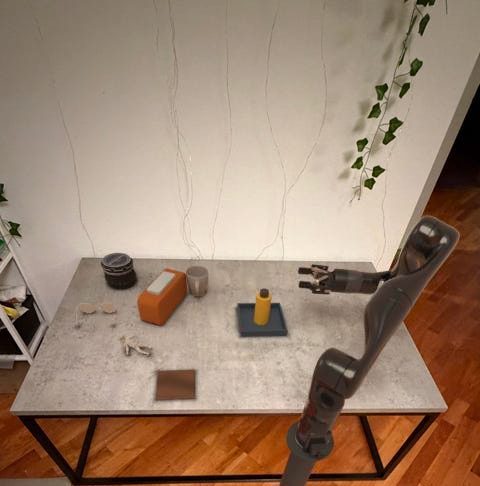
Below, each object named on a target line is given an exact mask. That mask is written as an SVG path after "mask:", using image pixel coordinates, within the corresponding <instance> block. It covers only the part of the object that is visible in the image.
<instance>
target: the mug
mask: <svg viewBox="0 0 480 486" xmlns="http://www.w3.org/2000/svg"><path fill="white" fill-rule="evenodd" d="M185 274H186V280H187V287H188V288H189V290H190V292H191V294H192V296H193V297H202V296H204V295H205V293H206V290H207V288H208V285H209V270H208V269H207V268H206V266H202V265H191V266H189V267H188V268H187V269H186V271H185Z"/></svg>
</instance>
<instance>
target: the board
mask: <svg viewBox="0 0 480 486" xmlns="http://www.w3.org/2000/svg"><path fill="white" fill-rule="evenodd" d="M195 388H196V387H195V369H175V370H173V369H172V370H157V377H156V388H155V389H156V390H155V401H168V400H169V401H171V400H173V401H174V400H176V401H177V400H195V399H196V397H195V395H196V394H195V390H196V389H195Z"/></svg>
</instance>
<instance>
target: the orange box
mask: <svg viewBox="0 0 480 486" xmlns="http://www.w3.org/2000/svg"><path fill="white" fill-rule="evenodd" d="M187 294H188V283H187V278H186V272H184V271H179V270H176V269H172V268H167V267H166V268H164V269H163V270H162V271H161V272H160V273H159V274H158V275H157V276H156V277H155V278H154V280H152V282H151V283H150V284H149V285H148V286H147V287H146V288H145V289H144V290H143V291H142V292H141V294H139V295H138V297H137V300H136V303H137V304H136V305H137V309H138V313H139V317H140V320H141V321H143V322H147V323H151V324H154V325H157V326H163V325H164V324H165V323H166V322H167V321H168V320H169V318H170V317H171V316H172V314H173V313H174V312H175V310H176V309H177V308H178V306H179V305H180V304H181V302H182V301H183V300H184V299H185V297H186V296H187Z"/></svg>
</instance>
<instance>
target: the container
mask: <svg viewBox="0 0 480 486" xmlns="http://www.w3.org/2000/svg"><path fill="white" fill-rule="evenodd" d="M100 266H101V268H102V271H103V273H104V280H105V282H106V283H107V284H108V285H109V287H110V288H112V289H115V290H125V289H129V288H131V287H133V286H134V285H135V284H136V281H137V280H136V277H137V273H136V271H135V269H134V267H135V266H134V259H133V258H132V257H131V256H130V255H129V254H128V253H123V252H112V253H108V254H106V255H105V256H103V257H102V259H101V262H100Z"/></svg>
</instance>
